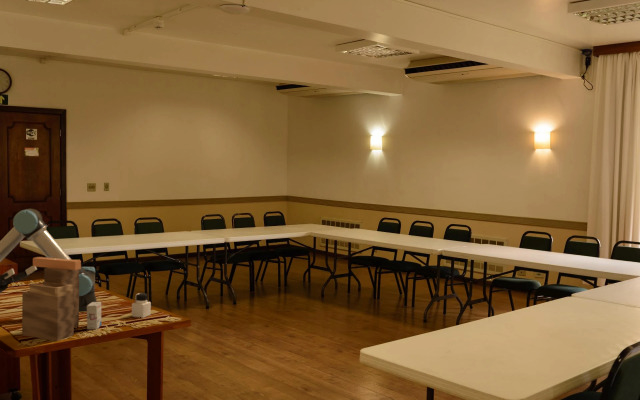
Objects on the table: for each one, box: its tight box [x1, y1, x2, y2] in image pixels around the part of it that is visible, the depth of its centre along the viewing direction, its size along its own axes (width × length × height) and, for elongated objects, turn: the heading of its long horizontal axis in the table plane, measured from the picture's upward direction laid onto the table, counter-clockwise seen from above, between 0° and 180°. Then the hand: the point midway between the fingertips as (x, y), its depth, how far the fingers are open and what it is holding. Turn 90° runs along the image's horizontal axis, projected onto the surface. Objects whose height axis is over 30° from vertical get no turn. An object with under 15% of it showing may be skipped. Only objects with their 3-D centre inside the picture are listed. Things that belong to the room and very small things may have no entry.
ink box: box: [86, 301, 102, 330], centre depth 302 cm, size 9×5×12 cm, turn 5°
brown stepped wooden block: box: [21, 267, 80, 342], centre depth 291 cm, size 22×21×30 cm
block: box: [32, 256, 82, 270], centre depth 296 cm, size 4×24×4 cm, turn 75°
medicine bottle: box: [131, 292, 152, 319], centre depth 327 cm, size 7×7×12 cm
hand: (24, 269), depth 304 cm, fingers open, 13 cm apart
